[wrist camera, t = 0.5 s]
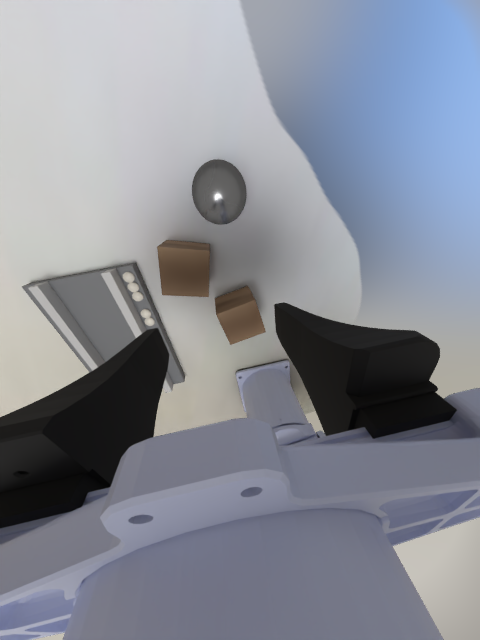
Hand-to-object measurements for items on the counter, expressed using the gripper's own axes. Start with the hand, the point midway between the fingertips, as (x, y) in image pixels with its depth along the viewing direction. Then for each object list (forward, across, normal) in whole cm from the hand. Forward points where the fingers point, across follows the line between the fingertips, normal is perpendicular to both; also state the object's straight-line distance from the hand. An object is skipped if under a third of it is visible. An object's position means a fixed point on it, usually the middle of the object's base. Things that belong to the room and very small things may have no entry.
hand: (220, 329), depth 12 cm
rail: (+10, +12, +5) cm, 17 cm away
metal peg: (+10, -2, -7) cm, 13 cm away
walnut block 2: (+10, -2, +4) cm, 11 cm away
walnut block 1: (+10, +2, -2) cm, 11 cm away
